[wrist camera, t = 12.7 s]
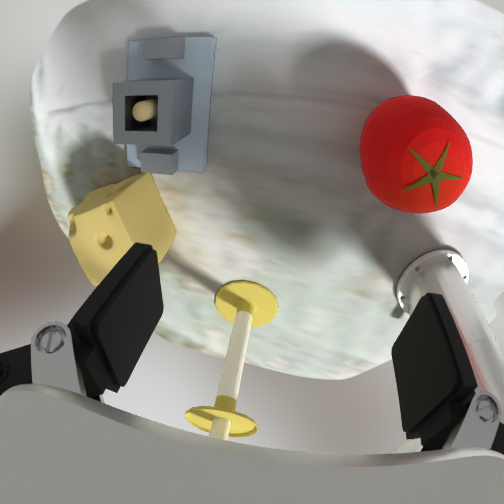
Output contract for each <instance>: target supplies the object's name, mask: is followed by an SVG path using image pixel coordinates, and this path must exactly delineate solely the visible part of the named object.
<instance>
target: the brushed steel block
mask: <svg viewBox="0 0 504 504" xmlns="http://www.w3.org/2000/svg"><path fill="white" fill-rule="evenodd" d="M193 87H194V78H159V79H139V80H131V81H124V82H117V83H113V134H114V144H130V145H154V146H170V147H171V146H172V145H174V144H175V143H177V142H178V141H180V140H181V139H183V138H184V137H186V136H188V135H189V134H191V119H192V102H193ZM151 95H158V120H151V118H150V119H147V120H145V121H138V120H136V119H135V118H134V116H133V107H134V106H135V104H136V103H138V102H141V101H145V100H149V99H151Z"/></svg>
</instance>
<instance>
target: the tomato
mask: <svg viewBox="0 0 504 504" xmlns="http://www.w3.org/2000/svg"><path fill="white" fill-rule="evenodd" d="M360 154H361V162H362V168H363V172H364V175H365V179H366V182H367V185H368V187H369V189H370V190H371V192H372V194H373V195H374V196H375V197H377V198H378V199H379V200H380V201H381V202H383V203H384V204H385V205H387V206H389V207H391V208H394V209H396V210H400V211H404V212H409V213H429V212H434V211H438V210H441V209H444V208H446V207H448V206H450V205H451V204H452V203H454V202H455V201H456V200H457V199H458V198H459V196H460V195H461V194H462V192H463V191H464V189H465V188H466V186H467V184H468V182H469V180H470V177H471V173H472V164H473V159H472V150H471V145H470V142H469V139H468V137H467V135H466V133H465V132H464V130H463V129H462V127H461V126H460V125H459V124H458V123H457V121H456V120H455V119H454V118H453V117H452V116H451V115H450V114H449V113H448V112H447V111H446V110H444V109H443V108H442V107H441V106H440V105H438V104H437V103H436V102H434V101H432V100H429V99H427V98H424V97H419V96H410V95H406V96H399V97H393V98H390V99H388V100H386V101H384V102H382V103H381V104H380V105H379V106H377V107H376V108H375V109H374V110H373V112H372V113H371V114H370V116H369V117H368V119H367V121H366V123H365V125H364V128H363V132H362V135H361V142H360Z"/></svg>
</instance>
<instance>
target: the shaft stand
mask: <svg viewBox="0 0 504 504" xmlns="http://www.w3.org/2000/svg"><path fill="white" fill-rule="evenodd" d="M216 39H217V38H215V37H166V38H153V39H144V40H137V41H129V48H128V63H127V81H131V80H139V79H159V78H194V87H193V102H192V119H191V134H189V135H188V136H186V137H184V138H183V139H181V140H180V141H178V142H177V143H175V144H174V145H172V146H171V147H170V146H154V145H130V144H127V165H128V167H141V172H147V173H158V174H168V175H173V174H174V173H175V172H176V171H185V172H195V173H203V172H204V171H205V170H206V159H207V142H208V127H209V113H210V100H211V88H212V77H213V67H214V57H215V48H216ZM133 116H134V118H135V119H136V120H138V121H145V120H147V119H150V118H151V120H158V95H151V99H149V100H145V101H141V102H138V103H136V104H135V106H134V107H133Z"/></svg>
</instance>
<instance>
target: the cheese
mask: <svg viewBox="0 0 504 504" xmlns="http://www.w3.org/2000/svg"><path fill="white" fill-rule="evenodd" d="M68 218H69V221H70V230H69V241H70V244H71V246H72V248H73V250H74V252H75V254H76V256H77V259H78V261H79V263H80V265H81V267H82V269H83V271H84V273H85V274H86V276H87V277H88V278H89V280H90V281H91V283H92V284H93V285H94V286H96V285H99V284H100V283H101V281H102V280H103V279H104V278H105V277H106V275H107V274H108V273H109V272H110V271H111V269H112V268H113V267H114V266H115V265H116V264H117V262H118V261H119V260H120V259H121V258H122V257H123V256H124V254H125V253H126V252H127V251H128V250H129V249H130V248H131V246H132V245H133V244H134V243H136V242H138V243H144V244H149V245H152V247H153V250H156V251H157V257H158V264H159V263H160V262H161V260H162V259H163V257H164V256H165V254H166V253H167V251H168V250H169V248H170V246H171V244H172V243H173V240H174V238H175V235H176V229H175V227H174V224H173V222H172V220H171V218H170V215H169V213H168V211H167V209H166V207H165V205H164V203H163V201H162V199H161V197H160V194H159V192H158V190H157V187H156V185H155V182H154V180H153V177H152V175H151V173H147V172H141V173H139V174H136V175H133V176H131V177H129V178H126V179H124V180H123V181H121V182H119V183H117V184H109V185H107V186H103V187H100V188H97V189H94V190H93V191H91V192H89V193H88V194H87V195H86V196H85V197H84V201H83V202H82V203H80V204H78V205H76V206H75V207H74V208H73V209H71V211H70V212H69V215H68Z"/></svg>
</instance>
